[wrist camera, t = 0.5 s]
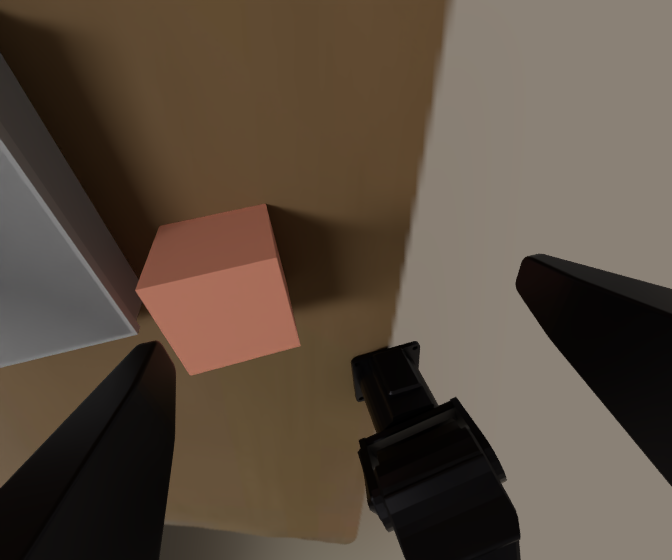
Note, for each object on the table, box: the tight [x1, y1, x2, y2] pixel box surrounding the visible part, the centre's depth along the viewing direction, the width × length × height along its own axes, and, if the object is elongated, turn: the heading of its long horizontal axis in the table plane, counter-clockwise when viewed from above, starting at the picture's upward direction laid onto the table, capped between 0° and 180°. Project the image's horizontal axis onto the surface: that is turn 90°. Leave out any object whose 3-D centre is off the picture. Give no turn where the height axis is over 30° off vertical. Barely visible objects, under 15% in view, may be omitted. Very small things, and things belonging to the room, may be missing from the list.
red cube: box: [135, 204, 300, 376], centre depth 18 cm, size 6×6×6 cm
